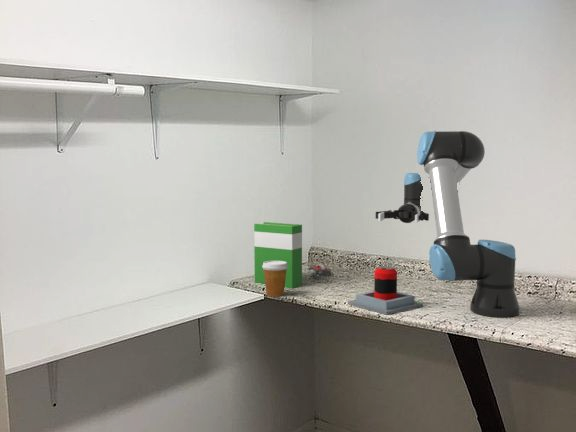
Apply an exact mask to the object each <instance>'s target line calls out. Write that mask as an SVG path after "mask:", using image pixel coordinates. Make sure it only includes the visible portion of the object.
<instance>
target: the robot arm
mask: <svg viewBox="0 0 576 432" xmlns="http://www.w3.org/2000/svg"><path fill="white" fill-rule="evenodd" d="M485 154H486V153H485V146H484V144H483V142H482V140H481V138H480V137H478V136H477V135H476V134H475V133H472V132H469V131H465V130H462V131H461V130H460V131H457V130H455V131H452V130H450V131H447V130H446V131H441V130H440V131H437V130H433V131H424V132H423V133H422V134H421V136H420V138H419V141H418V146H417V152H416V159H417V163H418V165H420V166H423V168H424V172H425V173H426V174H427V175H429V178H430V183H431V190H432V196H431V198H432V204H433V205H432V206H433V212H434V213H433V214H434V222H435V227H436V228H435V229H436V235H437V236H436V238H435V239H434V240H433V244H432V245H430V248H429V249H428V250H429V252H428V254H429V260H428V261H429V265H430V268H431V269H430V270H431V271H432V274H433V275H434V277H435V278H436V279H437V280H440V281H446V282H447V281H448V282H454V281H461V282H463V281H476V287H475V291H474V293H473V296H472V299H471V302H470V311H471V312H472V313H474V314H477V315H481V316H487V317H493V318H494V317H495V318H510V317H516V316H518V315H520V305H519V302H518V298H517V295H516V292H515V276H516V260H517V257H516V248H515V246H514V245H513V244H510V243H507V242H503V241H498V240H491V239H478V241H477V244H471V239H470V237H469V235H467V234H466V233H465V232H464V226H463V224H464V223H463V218H462V210H461V204H460V197H459V191H458V190H457V183H458V182H459V183H460V182H461V181H462V180H463V179H464V178H465V177H466V175H467V174H468V173H469V172H470V171H471V170H472V169H475V168H477V167H478V166H480V164H481V163H482V162H483V160H484V158H485ZM418 173H419V172H406V173H405V174H404V180H403V181H404V183H403V187H404V189H403V191H404V192H403V193H404V194H403V196H404V197H403V204H402V205H400V206H399V208H398V209H394V210H391V209H389V210H383V211H381V210H380V211H375V219H376V220H378V222H382V221H383V220H385V219H394V220H400V222H402V223H405V224H411V223H412V222H414V223H419V222H420V221H426V222H427V221H430V220H429V218H430V214H429V212H423V211H421V206H420V199H421V198H420V196H421V192H422V190H423V186H422V184H421V182H420V181H421V177H420V175H419V174H418Z"/></svg>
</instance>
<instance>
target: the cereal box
mask: <svg viewBox="0 0 576 432" xmlns="http://www.w3.org/2000/svg"><path fill="white" fill-rule="evenodd" d="M253 225H254V226H253V227H254V228H253V229H254V230H253V232H254V233H253V237H254V239H253V240H254V241H253V242H254V243H253V244H254V246H253V247H254V250H253V252H254V284H255V283H261V284H260V285H263V284H265V278H264V270H263V267H262V266H263V262H266V261H285V262H287V265H288V267H287V271H286V279H285V287H286V289H295V288H297V287H301V286H302V285H303V224H298V223H297V224H296V223H282V222H281V223H280V222H270V221H269V222H266V221H264V222H263V224H262V223H254V224H253Z"/></svg>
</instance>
